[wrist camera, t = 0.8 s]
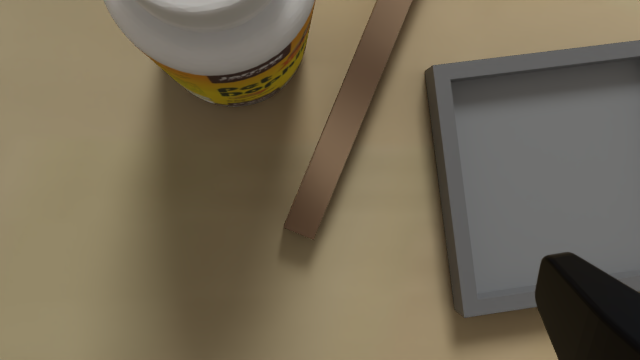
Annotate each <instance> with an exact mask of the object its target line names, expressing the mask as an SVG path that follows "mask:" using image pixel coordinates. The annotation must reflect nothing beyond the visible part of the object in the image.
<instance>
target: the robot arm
mask: <svg viewBox="0 0 640 360" xmlns="http://www.w3.org/2000/svg"><path fill="white" fill-rule="evenodd" d="M535 301H536V305H537V308H538V311H539V313H540V316H541V318H542V320H543V323H544V325H545V328H546V330H547V333H548V335H549V338H550V340H551V342H552V345H553V347H554V350H555V352H556V355H557V357H558V360H640V293H639V292H638V291H636V290H634V289H633V288H631V287H629V286H628V285H626V284H624V283H623V282H621V281H619V280H618V279H616V278H614V277H613V276H611V275H609V274H608V273H606V272H604V271H603V270H601V269H599V268H598V267H596V266H594V265H593V264H591V263H589V262H588V261H586V260H584V259H583V258H581V257H579V256H577V255H576V254H574V253H571V252H562V253H556V254H550V255H546V256H544V257H543V259H542V260H541V263H540V268H539V273H538V278H537V283H536V288H535Z"/></svg>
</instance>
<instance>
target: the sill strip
mask: <svg viewBox="0 0 640 360" xmlns="http://www.w3.org/2000/svg"><path fill="white" fill-rule="evenodd" d="M411 2H412V0H377V1H376V3H375V6H374V8H373V11H372V13H371V16H370V18H369V20H368V23H367V25H366V28H365V30H364V33H363V35H362V37H361V40H360V42H359V45H358V47H357V49H356V52H355V54H354V57H353V59H352V62H351V64H350V66H349V69H348V71H347V74H346V76H345V78H344V81H343V83H342V86H341V88H340V91H339V93H338V95H337V98H336V100H335V103H334V105H333V107H332V110H331V112H330V115H329V117H328V120H327V122H326V124H325V127H324V129H323V132H322V134H321V137H320V139H319V141H318V144H317V146H316V149H315V151H314V153H313V156H312V158H311V161H310V163H309V166H308V168H307V170H306V173H305V175H304V178H303V180H302V182H301V185H300V187H299V190H298V192H297V195H296V197H295V199H294V202H293V204H292V207H291V209H290V212H289V214H288V216H287V219H286V221H285V224H284V228H286V229H288V230H290V231H293V232H295V233H298V234H300V235H303V236H305V237H308V238H310V239H313V240H314V237H315V235H316V233H317V230H318V228H319V225H320V223H321V220H322V218H323V216H324V213H325V211H326V208H327V206H328V203H329V201H330V199H331V196H332V194H333V191H334V189H335V187H336V184H337V182H338V179H339V177H340V174H341V172H342V170H343V167H344V165H345V162H346V160H347V157H348V155H349V153H350V150H351V148H352V145H353V143H354V141H355V138H356V136H357V133H358V131H359V128H360V126H361V124H362V121H363V119H364V116H365V114H366V111H367V109H368V107H369V104H370V102H371V99H372V97H373V94H374V92H375V90H376V87H377V85H378V82H379V80H380V78H381V75H382V73H383V70H384V68H385V65H386V63H387V61H388V58H389V56H390V53H391V51H392V48H393V46H394V44H395V41H396V39H397V36H398V34H399V32H400V29H401V27H402V24H403V22H404V19H405V17H406V15H407V12H408V10H409V7H410V5H411Z"/></svg>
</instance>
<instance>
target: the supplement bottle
mask: <svg viewBox="0 0 640 360" xmlns="http://www.w3.org/2000/svg"><path fill="white" fill-rule="evenodd" d="M104 3H105V5H106V7H107V9H108V11H109V13H110V14H111V16H112V18H113V20H114V21H115V22H116V24H117V25H118V27H119V28H120V29H121V31H122V32H123V33H124V34H125V35H126V37H127V38H128V39H129V40H130V41H131V42H132V43H133V44H134V45H135V46H136V47H137V48H138V49H140V50H141V51H142V52H143V53H144V54H145V55H147V56H148V57H149V58H150V59H151V60H153V61H154V62H155V63H156V64H157V65H158V66H159V67H161V68H162V69H163V70H164V71H165V72H166V73H167V74H169V75H170V76H171V77H172V78H173V79H174V80H176V81H177V82H178V83H179V84H180V85H181V86H183V87H184V88H185V89H186V90H188V91H189V92H190V93H192V94H193V95H195V96H197V97H199V98H201V99H203V100H205V101H207V102H210V103H214V104H218V105H222V106H235V107H236V106H246V105H251V104H255V103H258V102H261V101H263V100H265V99H267V98H269V97H271V96H272V95H274V94H275V93H277V92H278V91H279V90H281V89H282V88H283V87H284V86H285V85H286V84H287V83H288V82H289V81H290V79H291V78H292V77H293V75H294V74H295V72H296V71H297V69H298V67H299V65H300V63H301V60H302V57H303V54H304V51H305V48H306V43H307V38H308V33H309V28H310V23H311V18H312V14H313V9H314V5H315V0H104Z"/></svg>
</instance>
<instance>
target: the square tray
mask: <svg viewBox="0 0 640 360" xmlns="http://www.w3.org/2000/svg"><path fill="white" fill-rule="evenodd" d="M425 78H426V86H427V94H428V102H429V110H430V117H431V125H432V133H433V141H434V149H435V157H436V165H437V173H438V181H439V189H440V197H441V205H442V213H443V221H444V229H445V237H446V245H447V253H448V261H449V269H450V277H451V285H452V293H453V301H454V309H455V310H456V311H457V312H458V313H459V314H460V315H462V316H463V317H464V318H466V317H473V316H479V315H486V314H492V313H499V312H506V311H512V310H519V309H526V308H532V307H537V305H536V301H535V288H536V283H537V278H538V273H539V268H540V263H541V260H542V259H543V257H544V256H546V255H550V254H556V253H562V252H571V253H574V254H576V255H577V256H579V257H581V258H583V259H584V260H586V261H588V262H589V263H591V264H593V265H594V266H596V267H598V268H599V269H601V270H603V271H604V272H606V273H608V274H609V275H611V276H613V277H614V278H616V279H618V280H619V281H621V282H623V283H624V284H626V285H628V286H629V287H631V288H633V289H634V290H636V291H640V40H638V41H629V42H621V43H613V44H605V45H597V46H588V47H580V48H572V49H564V50H555V51H547V52H539V53H531V54H523V55H514V56H506V57H498V58H490V59H482V60H473V61H465V62H457V63H449V64H441V65H433V66H431V67H430V68H428V69H427V70H426V71H425Z"/></svg>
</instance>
